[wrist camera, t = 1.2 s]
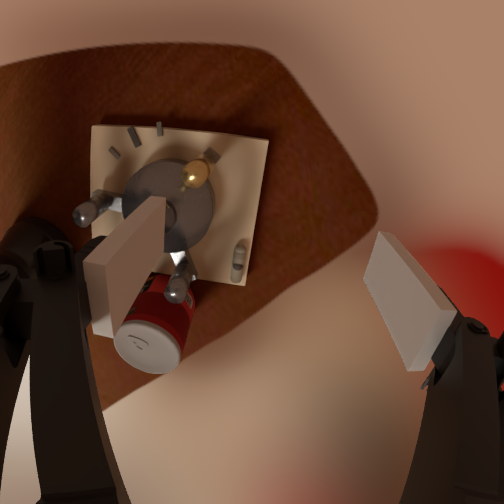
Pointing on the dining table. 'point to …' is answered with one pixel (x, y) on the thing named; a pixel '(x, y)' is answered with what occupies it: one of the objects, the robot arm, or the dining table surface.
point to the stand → (222, 179)
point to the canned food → (155, 328)
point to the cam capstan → (176, 213)
